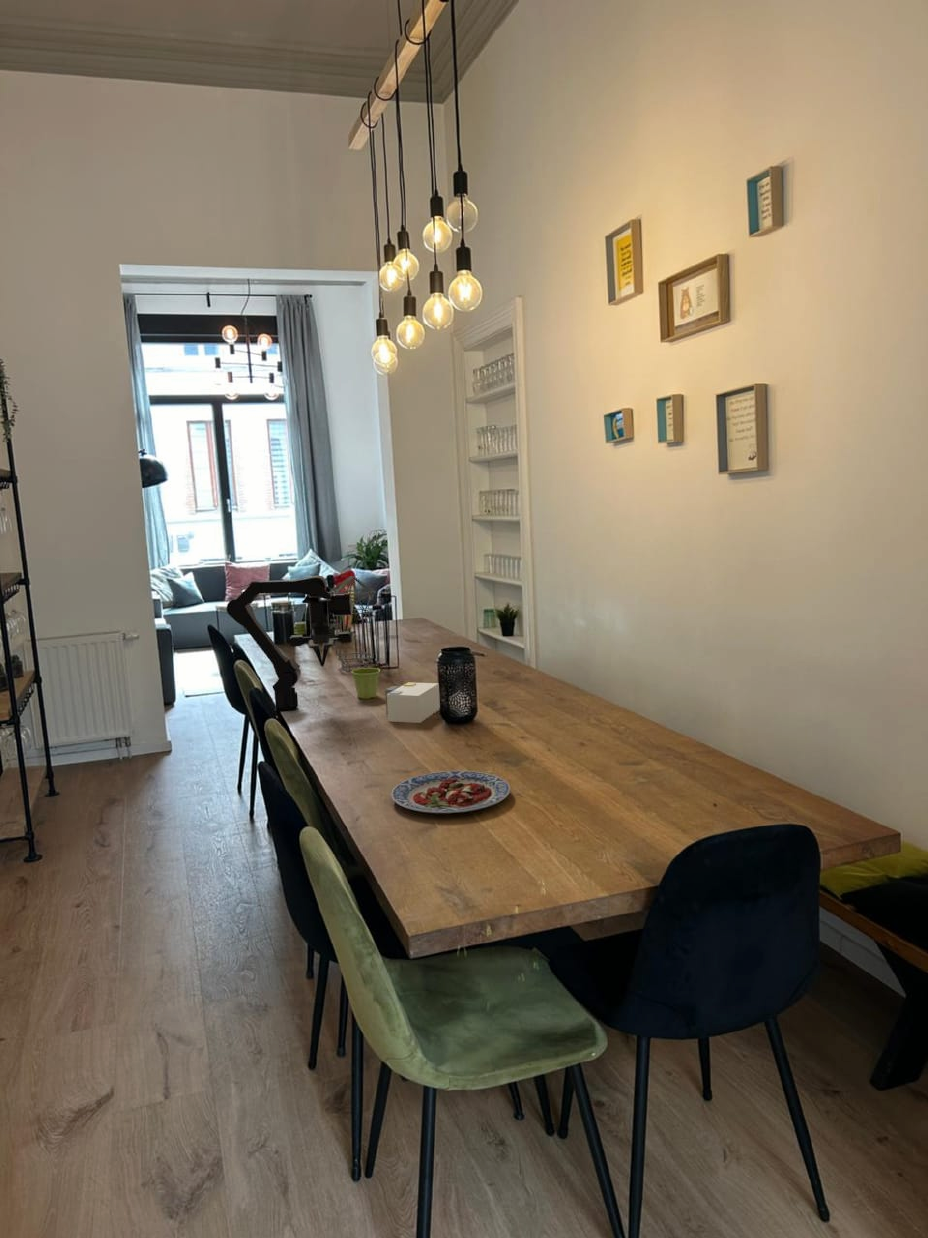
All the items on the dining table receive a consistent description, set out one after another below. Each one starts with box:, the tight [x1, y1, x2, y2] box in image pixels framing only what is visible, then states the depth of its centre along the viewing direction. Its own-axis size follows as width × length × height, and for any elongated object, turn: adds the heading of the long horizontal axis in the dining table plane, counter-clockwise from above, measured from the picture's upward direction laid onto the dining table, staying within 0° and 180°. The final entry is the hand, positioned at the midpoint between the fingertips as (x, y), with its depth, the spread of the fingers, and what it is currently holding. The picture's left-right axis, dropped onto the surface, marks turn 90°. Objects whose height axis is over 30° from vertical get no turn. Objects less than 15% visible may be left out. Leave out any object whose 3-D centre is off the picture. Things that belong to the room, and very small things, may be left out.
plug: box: [384, 685, 401, 716], centre depth 265 cm, size 9×5×8 cm, turn 71°
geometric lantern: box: [330, 576, 377, 672], centre depth 335 cm, size 16×16×35 cm
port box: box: [387, 681, 441, 724], centre depth 264 cm, size 10×16×8 cm, turn 161°
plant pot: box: [351, 667, 381, 700], centre depth 290 cm, size 9×9×9 cm
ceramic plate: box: [390, 770, 511, 814], centre depth 193 cm, size 26×26×3 cm
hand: (322, 666), depth 277 cm, fingers closed
